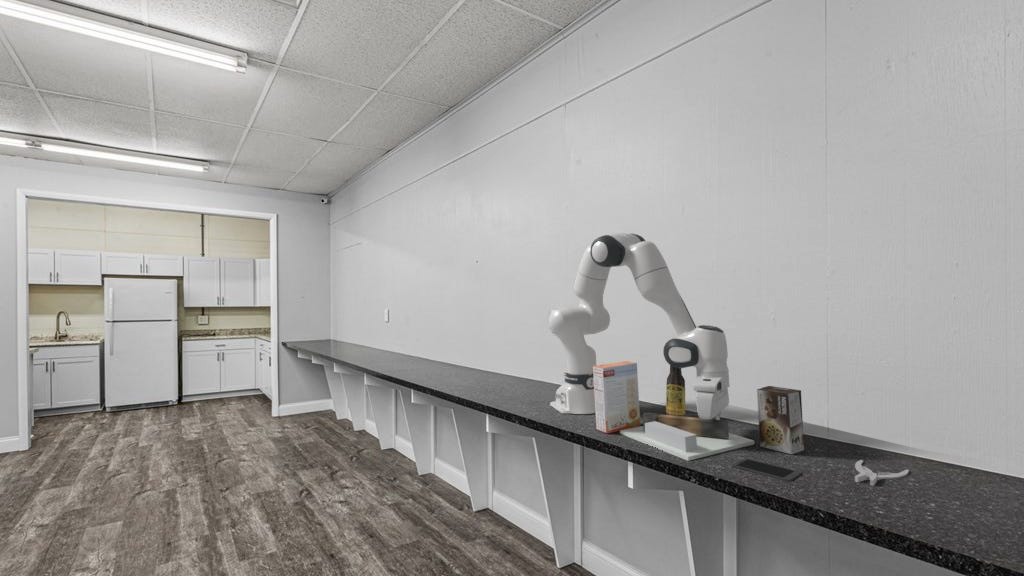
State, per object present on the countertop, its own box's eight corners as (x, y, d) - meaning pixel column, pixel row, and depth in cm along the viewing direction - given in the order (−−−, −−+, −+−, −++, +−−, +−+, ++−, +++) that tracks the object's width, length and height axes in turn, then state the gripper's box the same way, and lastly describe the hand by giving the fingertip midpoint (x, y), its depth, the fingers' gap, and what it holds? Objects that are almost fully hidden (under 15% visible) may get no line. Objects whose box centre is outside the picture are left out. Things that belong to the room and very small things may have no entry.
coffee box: (805, 450, 130) (802, 390, 130) (791, 455, 126) (788, 393, 126) (772, 441, 137) (769, 385, 137) (758, 446, 134) (756, 388, 134)
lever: (642, 430, 149) (641, 415, 149) (645, 426, 152) (645, 412, 153) (727, 439, 136) (726, 423, 136) (729, 435, 140) (728, 419, 140)
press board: (620, 433, 151) (619, 417, 151) (680, 421, 161) (680, 406, 161) (688, 460, 125) (687, 441, 125) (754, 444, 136) (753, 426, 136)
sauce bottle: (664, 419, 165) (661, 360, 165) (669, 414, 170) (667, 358, 170) (683, 421, 161) (681, 361, 161) (688, 416, 167) (686, 359, 167)
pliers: (909, 466, 113) (891, 484, 103) (910, 473, 113) (891, 492, 103) (859, 456, 120) (838, 472, 111) (859, 462, 120) (838, 479, 111)
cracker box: (628, 422, 162) (626, 360, 162) (641, 427, 157) (638, 362, 157) (594, 429, 156) (592, 364, 156) (606, 434, 151) (603, 367, 151)
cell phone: (789, 483, 110) (789, 480, 110) (730, 467, 120) (729, 464, 121) (803, 475, 114) (803, 471, 114) (744, 460, 125) (744, 457, 125)
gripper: (711, 374, 153) (713, 417, 153) (691, 385, 137) (693, 434, 137) (732, 375, 149) (735, 420, 149) (714, 387, 133) (717, 437, 133)
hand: (715, 427), depth 143 cm, fingers closed
